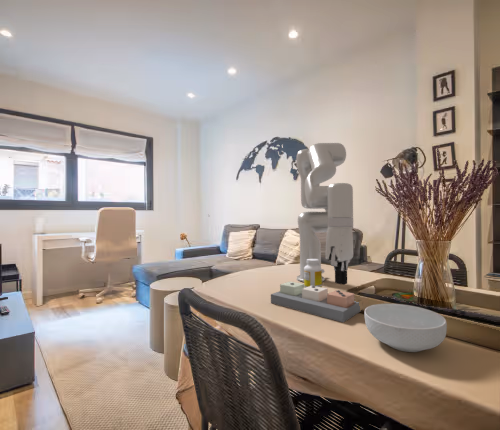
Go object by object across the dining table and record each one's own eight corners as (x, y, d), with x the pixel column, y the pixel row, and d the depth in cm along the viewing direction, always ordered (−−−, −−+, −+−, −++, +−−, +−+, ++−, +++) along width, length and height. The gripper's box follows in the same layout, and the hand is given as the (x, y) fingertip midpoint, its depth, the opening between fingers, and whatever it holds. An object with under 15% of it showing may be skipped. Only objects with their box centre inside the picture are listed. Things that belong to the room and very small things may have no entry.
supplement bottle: (322, 291, 111) (322, 258, 111) (321, 295, 104) (320, 261, 104) (305, 289, 113) (305, 257, 113) (303, 294, 107) (302, 260, 107)
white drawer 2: (311, 297, 97) (311, 284, 97) (327, 300, 92) (327, 287, 92) (302, 301, 92) (302, 288, 92) (318, 304, 88) (318, 291, 88)
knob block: (290, 292, 103) (290, 280, 103) (304, 295, 99) (304, 283, 99) (280, 295, 98) (280, 283, 98) (294, 299, 94) (294, 286, 94)
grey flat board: (294, 294, 106) (294, 286, 106) (362, 309, 88) (362, 300, 88) (270, 302, 96) (270, 294, 96) (343, 322, 78) (343, 311, 78)
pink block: (336, 302, 90) (336, 289, 90) (354, 306, 86) (354, 292, 86) (327, 307, 86) (327, 293, 86) (345, 311, 82) (345, 296, 82)
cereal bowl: (384, 324, 77) (384, 298, 77) (457, 346, 64) (457, 315, 64) (350, 342, 66) (350, 312, 66) (429, 372, 53) (429, 335, 53)
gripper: (339, 223, 94) (340, 278, 94) (317, 224, 83) (317, 286, 83) (362, 223, 89) (363, 281, 88) (340, 224, 78) (341, 290, 78)
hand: (341, 283), depth 86 cm, fingers closed
